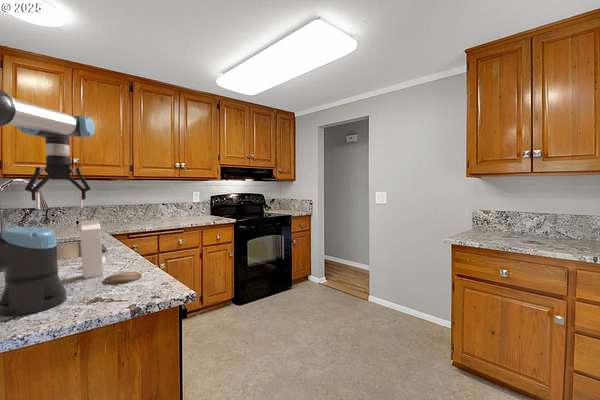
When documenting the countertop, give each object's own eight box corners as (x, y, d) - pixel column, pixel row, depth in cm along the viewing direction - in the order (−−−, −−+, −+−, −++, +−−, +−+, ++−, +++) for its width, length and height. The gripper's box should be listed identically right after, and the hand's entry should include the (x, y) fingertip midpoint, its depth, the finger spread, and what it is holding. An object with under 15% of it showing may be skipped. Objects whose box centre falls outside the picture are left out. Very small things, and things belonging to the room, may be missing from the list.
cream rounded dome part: (104, 266, 127) (104, 259, 127) (84, 269, 124) (84, 261, 124) (106, 262, 133) (106, 255, 133) (87, 265, 130) (87, 257, 130)
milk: (103, 275, 115) (101, 220, 113) (84, 279, 111) (81, 221, 109) (100, 272, 119) (98, 219, 118) (82, 275, 115) (79, 220, 114)
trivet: (141, 280, 108) (140, 278, 108) (102, 286, 102) (102, 283, 102) (141, 272, 118) (141, 270, 118) (106, 276, 113) (106, 274, 113)
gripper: (96, 158, 126) (98, 206, 126) (19, 155, 113) (21, 209, 113) (95, 156, 119) (97, 207, 120) (12, 152, 106) (15, 210, 107)
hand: (60, 208), depth 117 cm, fingers open, 13 cm apart
